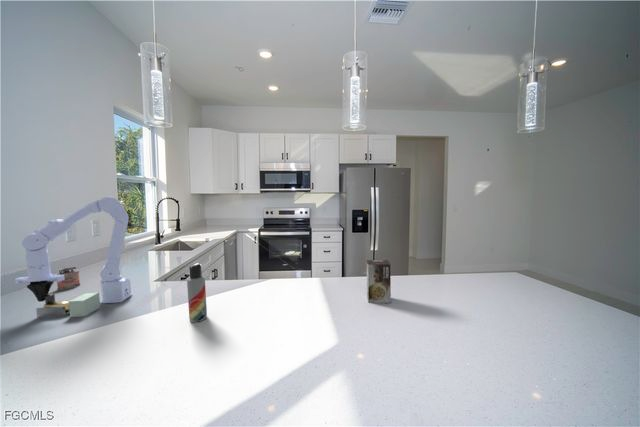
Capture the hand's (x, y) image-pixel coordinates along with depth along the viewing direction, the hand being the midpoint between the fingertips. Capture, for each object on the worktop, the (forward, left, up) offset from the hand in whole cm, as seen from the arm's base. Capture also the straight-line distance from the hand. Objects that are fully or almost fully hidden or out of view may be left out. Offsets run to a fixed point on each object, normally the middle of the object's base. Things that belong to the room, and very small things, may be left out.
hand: (42, 300), depth 95 cm
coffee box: (-129, +4, -6) cm, 129 cm away
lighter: (+15, -29, -6) cm, 33 cm away
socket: (-15, 0, -5) cm, 15 cm away
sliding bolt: (-6, 0, -4) cm, 7 cm away
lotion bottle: (-60, +11, -6) cm, 61 cm away
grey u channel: (-5, 0, -5) cm, 7 cm away
